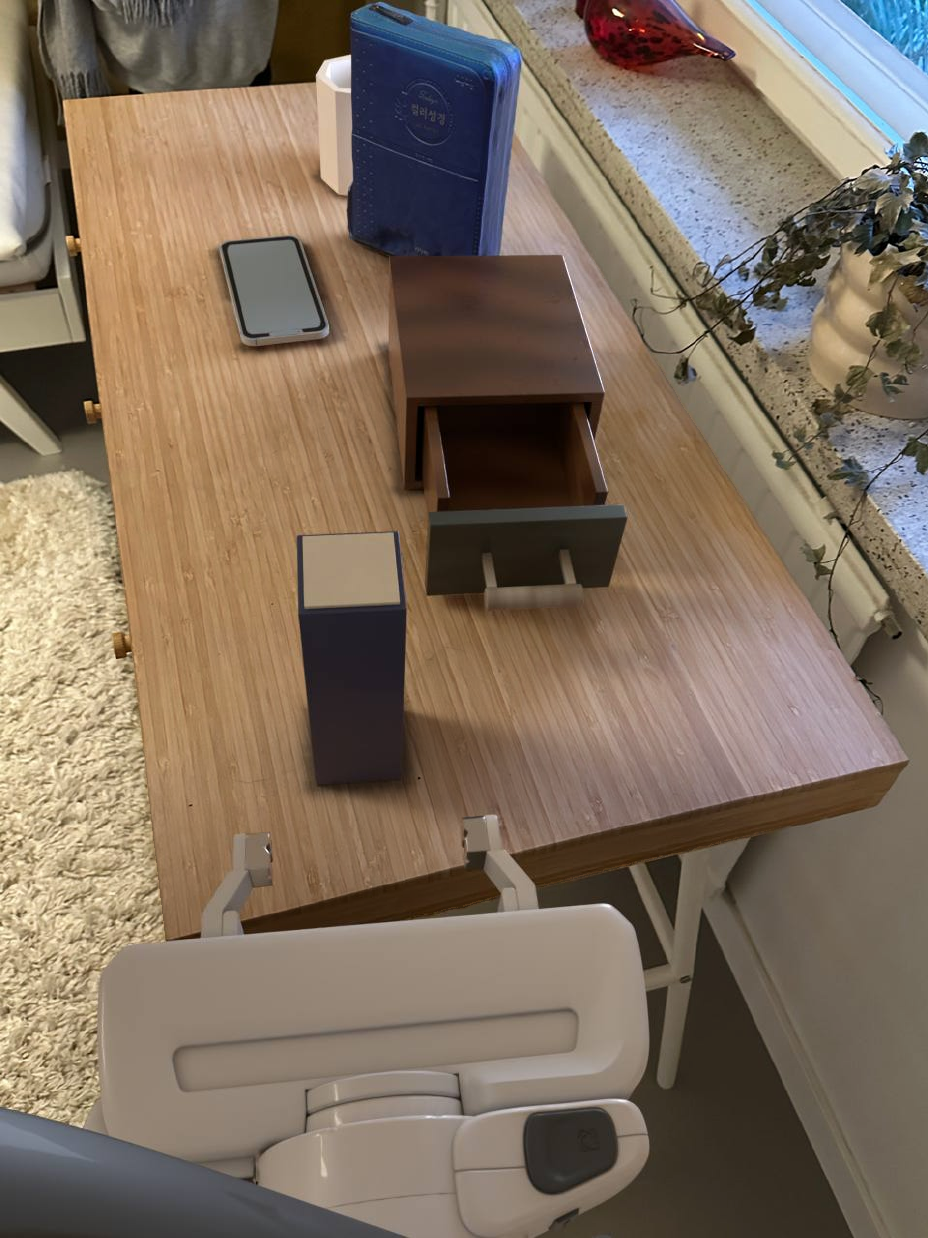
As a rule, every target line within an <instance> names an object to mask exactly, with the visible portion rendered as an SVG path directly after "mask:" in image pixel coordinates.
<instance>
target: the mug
mask: <svg viewBox="0 0 928 1238" xmlns="http://www.w3.org/2000/svg"><path fill="white" fill-rule="evenodd" d="M315 83H316V85H315V86H316V87H315V88H316V101H317V102H316V104H317V105H316V106H317V127H318V147H319V150H318V151H319V167H320V168H319V169H320V179H321V180H322V181H323V182H324V183H325V184H326V185H328V186H329V188H330V189H332V190H333V191H334V192H335V193H336V194H337V195H339V196H345V197H348V189H349V186H350V185H351V183H352V182H353V165H352V147H351V134H352V109H351V54H347V55H343V56H338V57H334V58H329V59H324V60H323V62H322V64H321V66H320V67H319V69H318V71H317V73H316V74H315Z"/></svg>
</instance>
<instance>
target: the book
mask: <svg viewBox="0 0 928 1238" xmlns="http://www.w3.org/2000/svg"><path fill="white" fill-rule="evenodd" d="M349 32H350V33H349V35H350V36H349V37H350V55H351V109H352V134H351V147H352V165H353V182H352V183H351V185H350V186H349V189H348V196H347V198H346V199H347V200H346V216H347V217H346V218H347V219H346V220H347V232H348V238H349V239H350V240H351V241H352V242H354V243H356V244H358V245H360V246H363V247H364V248H367V249H369V250H373V251H375V252H378V253H380V254H381V255H384V256H386V257H389V256H497V255H501V248H502V237H503V230H504V217H505V209H506V203H507V193H508V187H509V186H508V185H509V176H510V165H511V160H512V149H513V139H514V133H515V125H516V115H517V108H518V96H519V92H520V85H521V73H522V64H523V59H522V54H521V52H520V49H519V48H518V47H517V46H516V45H515V44H512V43H510V42H507V41H505V40H503V39H502V40H501V39H499V38H492V37H491V38H490V37H487V36H485V35H480V34H476V33H473V32H470V31H467V30H465V29H462V28H459V27H455V26H451V25H446V24H444V23H442V22H440V21H436V20H432V19H430V18H427V17H426V16H422V15H418V14H415V13H412V12H411V11H408V10H405V9H401V8H396V7H393V6H392V5H389V4H388V3H385V2H383V1H378V2H375V3H374V2H373V3H368V4H366V5H364V6H361V7H359V8H358V9H355V10H354V11H352V12H351V13H350V17H349Z"/></svg>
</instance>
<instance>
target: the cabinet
mask: <svg viewBox="0 0 928 1238" xmlns="http://www.w3.org/2000/svg"><path fill="white" fill-rule="evenodd" d="M583 319H584V318H583V316H582V313H581V310H580V306H579V304H578V300H577V296H576V293H575V290H574V287H573V284H572V280H571V277H570V273H569V271H568V267H567V264H566V260H565V257H564V255H563V254H519V255H517V254H516V255H513V254H512V255H511V254H510V255H507V254H506V255H503V254H502V255H501V254H499V255H497V256H388V347H387V348H388V357H389V365H390V374H391V383H392V384H391V385H392V393H393V402H394V411H395V420H396V428H397V429H396V430H397V439H398V449H399V455H400V456H399V457H400V464H401V466H400V467H401V474H402V483H403V490H405V491H406V490H407V491H408V490H409V491H410V490H424V486H423V479H422V471H421V463H420V455H419V447H418V439H417V417H418V406H448V405H487V404H525V403H563V402H583V405H584V408H585V412H586V415H587V419H588V423H589V426H590V430H591V433H592V437H593V440H594V442H595V441H596V435H597V431H598V427H599V423H600V422H599V421H600V416H601V413H602V407H603V404H604V399H605V395H606V391H605V389H604V388H605V387H604V385H603V382H602V379H601V375H600V372H599V369H598V366H597V362H596V358H595V355H594V352H593V349H592V346H591V343H590V339H589V336H588V332H587V329H586V325H585V323H584V320H583Z"/></svg>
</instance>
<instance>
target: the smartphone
mask: <svg viewBox="0 0 928 1238" xmlns="http://www.w3.org/2000/svg"><path fill="white" fill-rule="evenodd" d="M218 248H219V254H220V255H219V256H220V259H221V263H222V268H223V271H224V275H225V279H226V284H227V288H228V291H229V295H230V301H231V304H232V310H233V314H234V317H235V320H236V326H237V328H238V333H239V338H240V341H241V343H243V344H244V345H246V346H249V347H259V346H260V347H261V346H270V345H277V344H279V345H280V344H285V343H295V342H296V343H297V342H304V341H313V340H320V339H321V340H322V339H324V338H326V337H327V336H328V335H329V333H330V325H329V321H328V318H327V315H326V312H325V309H324V306H323V302H322V299H321V297H320V294H319V291H318V287H317V285H316V282H315V278H314V276H313V272H312V269H311V267H310V265H309V261H308V257H307V255H306V252H305V250H304V246H303V243H302V239H300V237H299V236H297V235H292V234H284V235H273V236H264V237H261V236H260V237H252V238H251V237H250V238H241V239H228V240H225V241H223V242H221V243H220V244H219V246H218Z"/></svg>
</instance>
